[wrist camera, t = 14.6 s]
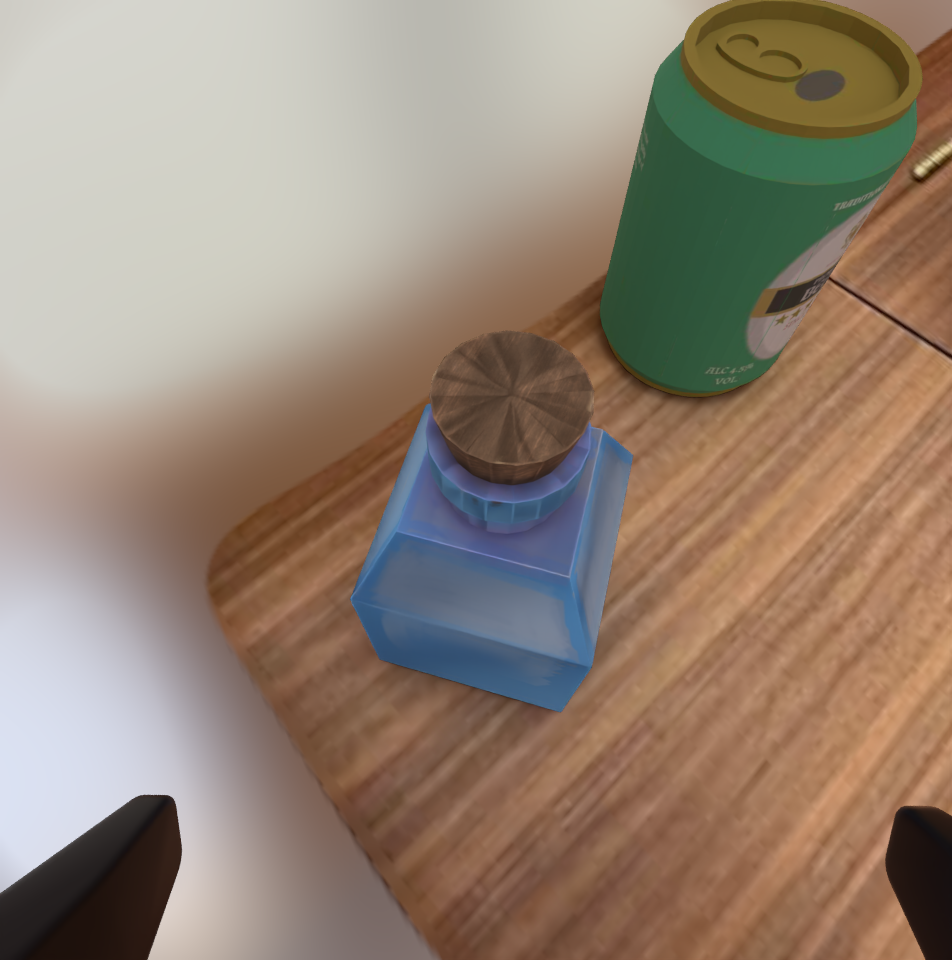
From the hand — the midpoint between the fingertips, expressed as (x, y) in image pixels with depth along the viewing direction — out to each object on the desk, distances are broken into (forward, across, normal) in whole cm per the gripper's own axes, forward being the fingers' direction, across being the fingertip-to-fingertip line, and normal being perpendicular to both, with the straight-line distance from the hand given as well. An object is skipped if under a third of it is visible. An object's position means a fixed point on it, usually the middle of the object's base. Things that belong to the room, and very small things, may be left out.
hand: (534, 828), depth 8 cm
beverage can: (+24, -8, -4) cm, 26 cm away
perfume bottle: (+14, 0, +4) cm, 15 cm away
